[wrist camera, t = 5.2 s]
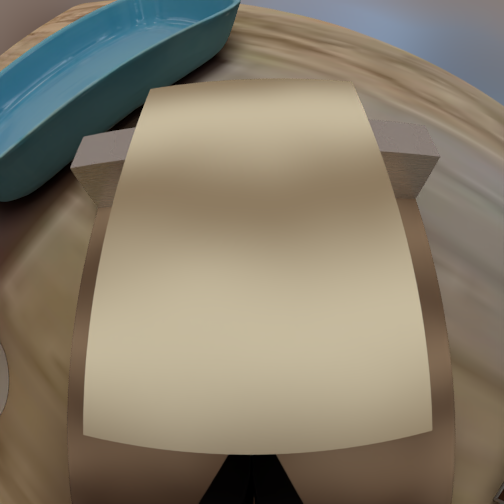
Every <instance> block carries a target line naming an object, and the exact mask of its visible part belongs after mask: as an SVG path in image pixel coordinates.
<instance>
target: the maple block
mask: <svg viewBox="0 0 504 504" xmlns="http://www.w3.org/2000/svg"><path fill="white" fill-rule="evenodd" d="M428 431H432V403H431V387H430V374H429V364H428V354H427V346H426V338H425V330H424V324H423V317H422V311H421V305H420V299H419V294H418V288H417V283H416V278H415V273H414V269H413V264H412V259H411V255H410V251H409V247H408V242H407V238H406V234H405V231H404V227H403V223H402V219H401V216H400V212H399V208H398V205H397V202H396V198H395V195H394V192H393V188H392V185H391V182H390V179H389V176H388V173H387V170H386V167H385V164H384V161H383V158H382V155H381V152H380V150H379V147H378V144H377V141H376V139H375V136H374V133H373V131H372V128H371V126H370V123H369V121H368V118H367V116H366V113H365V111H364V108H363V106H362V104H361V101H360V99H359V97H358V94H357V92H356V90H355V88H354V85H353V83H352V82H350V81H337V80H319V79H242V80H225V81H212V82H201V83H191V84H182V85H174V86H167V87H160V88H154V89H150V91H149V94H148V96H147V99H146V101H145V104H144V107H143V109H142V112H141V115H140V117H139V120H138V123H137V126H136V129H135V131H134V134H133V137H132V140H131V143H130V146H129V149H128V153H127V156H126V159H125V162H124V165H123V169H122V172H121V175H120V179H119V182H118V186H117V190H116V193H115V197H114V201H113V205H112V208H111V212H110V217H109V221H108V225H107V229H106V234H105V238H104V243H103V247H102V252H101V257H100V262H99V268H98V273H97V279H96V285H95V291H94V297H93V304H92V311H91V318H90V326H89V335H88V344H87V355H86V367H85V383H84V407H83V435H86V436H90V437H95V438H99V439H104V440H108V441H113V442H119V443H124V444H130V445H136V446H142V447H149V448H156V449H164V450H172V451H182V452H194V453H209V454H235V455H264V454H290V453H305V452H316V451H326V450H335V449H343V448H350V447H357V446H363V445H369V444H375V443H380V442H385V441H390V440H395V439H400V438H404V437H408V436H413V435H417V434H421V433H425V432H428Z"/></svg>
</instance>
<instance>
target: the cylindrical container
mask: <svg viewBox="0 0 504 504" xmlns="http://www.w3.org/2000/svg"><path fill="white" fill-rule="evenodd" d="M8 386H9V374H8V365H7V360H6V356H5V353H4V350H3V348H2V345H1V344H0V414H1V413H2V411H3V409H4V406H5V403H6V400H7V395H8Z"/></svg>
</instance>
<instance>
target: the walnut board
mask: <svg viewBox="0 0 504 504" xmlns="http://www.w3.org/2000/svg"><path fill="white" fill-rule="evenodd" d="M396 202H397V205H398V208H399V212H400V216H401V219H402V223H403V227H404V231H405V234H406V238H407V242H408V247H409V251H410V255H411V259H412V264H413V269H414V273H415V278H416V283H417V288H418V294H419V299H420V305H421V311H422V317H423V324H424V330H425V338H426V346H427V354H428V364H429V374H430V387H431V403H432V431H428V432H425V433H421V434H417V435H413V436H408V437H404V438H400V439H395V440H390V441H385V442H380V443H375V444H369V445H363V446H357V447H350V448H343V449H335V450H326V451H316V452H305V453H290V454H276V455H277V457H278V458H279V460H280V462H281V464H282V466H283V468H284V470H285V471H286V473H287V475H288V477H289V479H290V480H291V482H292V484H293V486H294V487H295V489H296V491H297V493H298V494H299V496H300V498H301V500H302V501H303V503H304V504H451V503H452V493H453V481H454V464H455V408H454V390H453V377H452V366H451V357H450V349H449V341H448V334H447V328H446V321H445V315H444V310H443V304H442V299H441V294H440V289H439V284H438V280H437V275H436V271H435V266H434V262H433V258H432V254H431V250H430V246H429V243H428V239H427V235H426V232H425V228H424V225H423V222H422V218H421V215H420V212H419V209H418V205H417V202H416V199H404V198H396ZM111 208H112V207H104V208H98V210H97V214H96V218H95V221H94V225H93V229H92V233H91V237H90V242H89V246H88V250H87V255H86V260H85V264H84V269H83V274H82V280H81V285H80V291H79V296H78V303H77V309H76V316H75V323H74V331H73V339H72V348H71V358H70V370H69V386H68V412H67V441H68V466H69V481H70V492H71V501H72V504H198V503H199V501H200V500H201V498H202V497H203V495H204V493H205V492H206V490H207V489H208V487H209V485H210V484H211V482H212V481H213V479H214V477H215V476H216V474H217V472H218V471H219V469H220V467H221V466H222V464H223V462H224V461H225V459H226V457H227V456H228V454H209V453H194V452H182V451H172V450H164V449H156V448H149V447H142V446H136V445H130V444H124V443H119V442H113V441H108V440H104V439H99V438H95V437H90V436H86V435H83V407H84V383H85V367H86V355H87V344H88V335H89V326H90V318H91V311H92V304H93V297H94V291H95V285H96V279H97V273H98V268H99V262H100V257H101V252H102V247H103V243H104V238H105V234H106V229H107V225H108V221H109V217H110V212H111ZM254 504H255V503H254Z"/></svg>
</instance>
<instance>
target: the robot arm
mask: <svg viewBox="0 0 504 504" xmlns="http://www.w3.org/2000/svg"><path fill="white" fill-rule="evenodd" d="M254 503H255V504H304V503H303V501H302V500H301V498H300V496H299V494H298V493H297V491H296V489H295V487H294V486H293V484H292V482H291V480H290V479H289V477H288V475H287V473H286V471H285V470H284V468H283V466H282V464H281V462H280V460H279V458H278V457H277V455H276V454H264V455H235V454H228V456H227V457H226V459H225V461H224V462H223V464H222V466H221V467H220V469H219V471H218V472H217V474H216V476H215V477H214V479H213V481H212V482H211V484H210V485H209V487H208V489H207V490H206V492H205V493H204V495H203V497H202V498H201V500H200V501H199V503H198V504H254Z"/></svg>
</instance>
